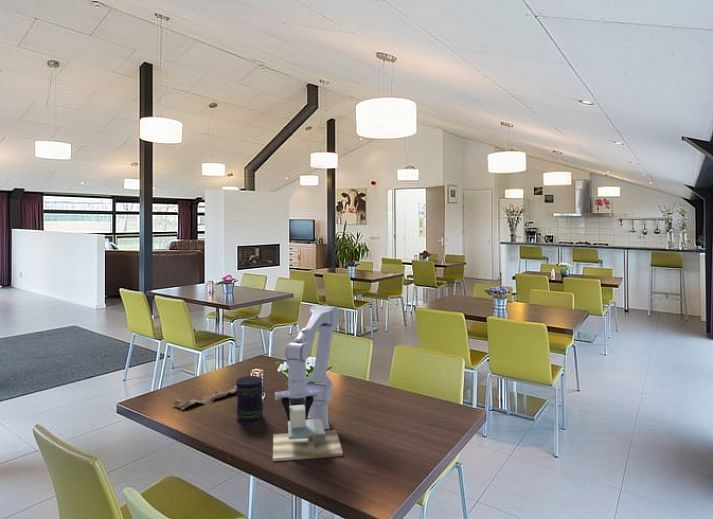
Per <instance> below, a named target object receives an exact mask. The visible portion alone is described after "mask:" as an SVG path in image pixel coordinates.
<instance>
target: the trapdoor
mask: <svg viewBox="0 0 713 519" xmlns="http://www.w3.org/2000/svg"><path fill="white" fill-rule="evenodd" d="M287 430H288V432H287V434H289V440H292V439H306V438H308V435H314V438H315V443H316V444H320V443H325V432H324V431H325V429H324V428H323V423H322V419H307V420H306V427H298V428H290V421H288V420H287Z"/></svg>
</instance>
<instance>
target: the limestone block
mask: <svg viewBox="0 0 713 519" xmlns="http://www.w3.org/2000/svg"><path fill="white" fill-rule="evenodd" d="M289 412H290V428H298V427H306V418H305V404H298V405H297V404H296V405H289Z"/></svg>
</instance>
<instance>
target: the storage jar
mask: <svg viewBox="0 0 713 519" xmlns="http://www.w3.org/2000/svg"><path fill="white" fill-rule="evenodd" d="M236 386H237V387H236V392H235V393H236V400H237V404H236V416H237V417H236V421H237V422H238V421H239V422H238V423H240V422H241V424H246V423H247V424H249V425H250V424H255V423H258V422H260V421H262V420H263V418H264V415H263V412H264V406H263V405H264V404H263V392H264V390H263V387H264V385H263V378H262V377H261V376H259V375H257V376H256V375H246V376H242V377H241V376H240V377H239V378H237V379H236ZM247 424H246V425H247Z"/></svg>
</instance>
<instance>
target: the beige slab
mask: <svg viewBox="0 0 713 519" xmlns="http://www.w3.org/2000/svg"><path fill="white" fill-rule="evenodd" d="M307 419H311V416H310V417H308V418H307ZM324 432H325V443H320V444H316V443H315V438H314V435H308V438H306V439H292V440H289V434H288V433H278V434H277V433H275V434H274V433H273V434H272V435H273V436H272V437H273V438H272V442H273V443H272V462H281V461H283V462H284V461H295V460H305V459H307V460H309V459H318V458H319V459H320V458H331V457H332V458H333V457H343V456H344V452H343V449H342V444H341V441H340V437H339V435H338V431H337V429H334V430H333V429H332V430H324Z"/></svg>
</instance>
